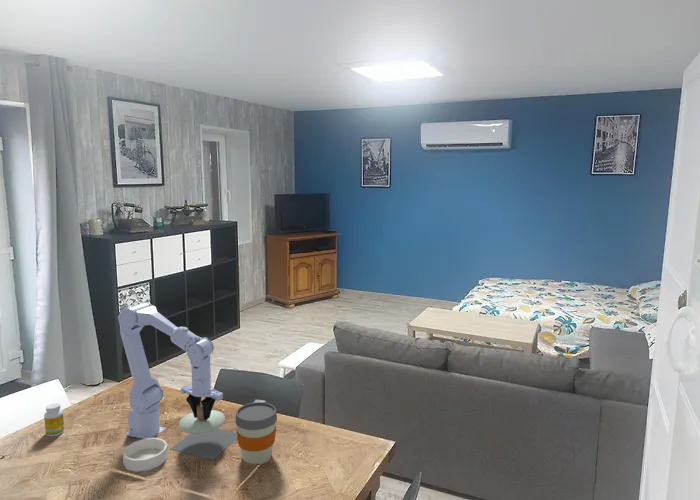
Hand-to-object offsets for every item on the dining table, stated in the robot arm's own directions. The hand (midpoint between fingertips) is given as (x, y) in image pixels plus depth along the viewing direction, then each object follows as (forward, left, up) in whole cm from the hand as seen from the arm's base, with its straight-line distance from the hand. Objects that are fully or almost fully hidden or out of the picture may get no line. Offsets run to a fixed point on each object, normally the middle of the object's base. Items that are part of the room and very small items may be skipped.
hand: (202, 417), depth 151 cm
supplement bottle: (-50, -12, -9) cm, 52 cm away
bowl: (-10, -14, -9) cm, 20 cm away
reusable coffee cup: (+20, 0, -9) cm, 22 cm away
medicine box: (+11, +15, -9) cm, 21 cm away
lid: (0, 0, -2) cm, 2 cm away
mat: (+1, +1, -9) cm, 9 cm away
